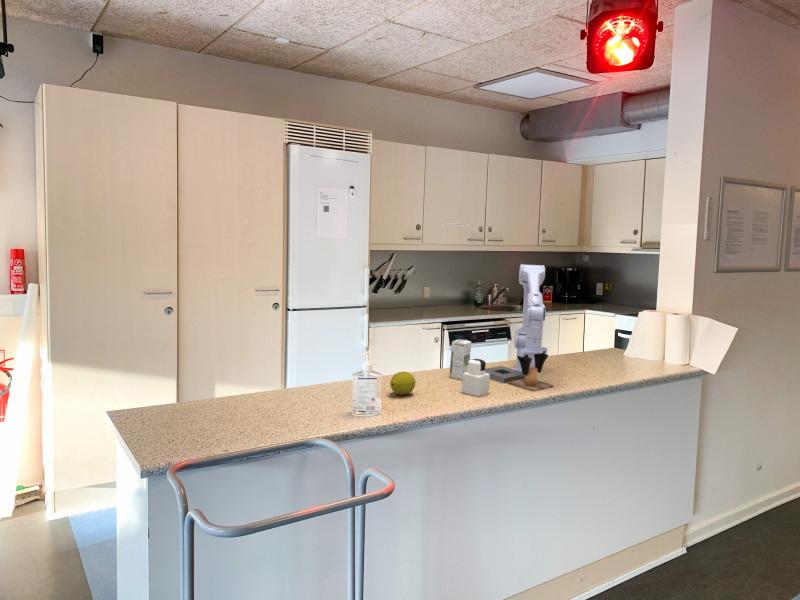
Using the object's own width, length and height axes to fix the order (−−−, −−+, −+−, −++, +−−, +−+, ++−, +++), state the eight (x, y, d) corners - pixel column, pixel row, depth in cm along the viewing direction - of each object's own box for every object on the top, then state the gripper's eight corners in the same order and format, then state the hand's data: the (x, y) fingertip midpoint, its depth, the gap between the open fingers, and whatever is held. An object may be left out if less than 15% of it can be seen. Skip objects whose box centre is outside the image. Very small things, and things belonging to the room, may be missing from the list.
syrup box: (455, 374, 240) (457, 338, 238) (469, 377, 237) (471, 340, 236) (449, 377, 236) (451, 341, 234) (463, 380, 233) (465, 343, 231)
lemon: (405, 389, 217) (406, 367, 216) (420, 394, 211) (421, 372, 210) (382, 394, 210) (383, 371, 209) (397, 400, 204) (398, 376, 203)
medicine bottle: (472, 388, 221) (474, 356, 220) (489, 393, 217) (491, 360, 215) (461, 392, 216) (463, 359, 214) (478, 397, 212) (480, 363, 210)
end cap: (529, 381, 233) (530, 366, 232) (538, 384, 230) (540, 368, 229) (522, 383, 230) (523, 367, 229) (531, 385, 227) (532, 370, 226)
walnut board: (528, 379, 238) (528, 377, 238) (553, 386, 229) (553, 385, 229) (507, 383, 231) (508, 382, 231) (533, 391, 222) (533, 389, 221)
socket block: (500, 370, 250) (501, 365, 250) (527, 378, 240) (528, 373, 239) (477, 375, 241) (477, 370, 241) (504, 383, 231) (504, 378, 231)
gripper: (530, 341, 220) (527, 378, 222) (554, 338, 229) (552, 373, 231) (515, 338, 225) (512, 373, 227) (539, 334, 234) (537, 369, 236)
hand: (531, 373), depth 229 cm, fingers open, 7 cm apart
